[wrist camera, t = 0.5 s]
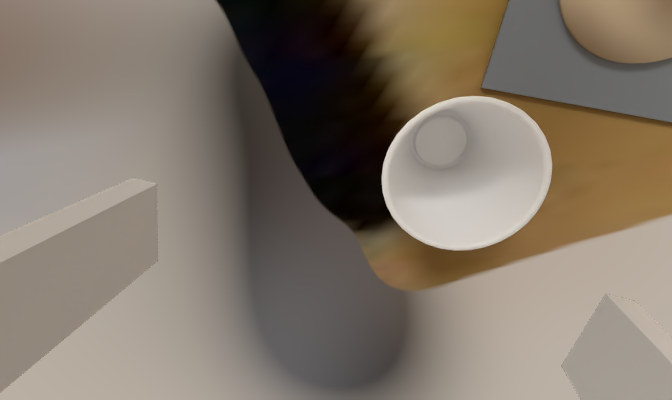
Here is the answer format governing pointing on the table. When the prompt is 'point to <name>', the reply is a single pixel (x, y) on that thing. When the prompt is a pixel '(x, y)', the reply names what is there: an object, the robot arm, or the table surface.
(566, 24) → the coaster
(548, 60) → the placemat
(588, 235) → the table surface
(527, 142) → the cup
